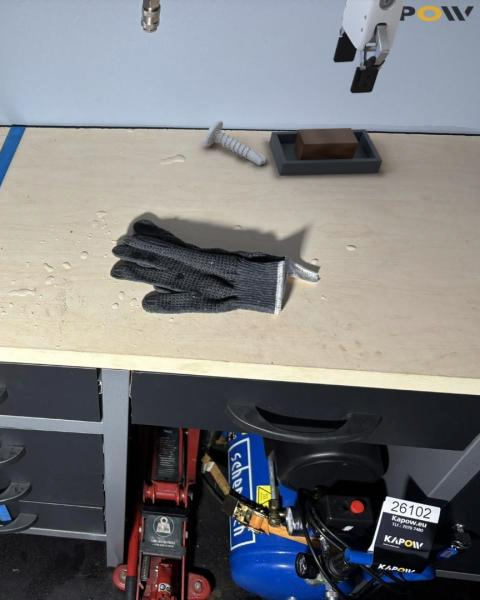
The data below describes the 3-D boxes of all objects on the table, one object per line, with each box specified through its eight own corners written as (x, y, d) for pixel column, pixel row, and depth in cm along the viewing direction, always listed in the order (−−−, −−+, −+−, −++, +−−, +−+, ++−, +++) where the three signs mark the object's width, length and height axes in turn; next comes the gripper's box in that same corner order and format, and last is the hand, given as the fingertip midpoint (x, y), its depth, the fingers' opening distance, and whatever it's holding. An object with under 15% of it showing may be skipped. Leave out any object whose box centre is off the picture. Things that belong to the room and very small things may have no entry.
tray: (361, 141, 110) (365, 129, 108) (377, 173, 103) (382, 160, 101) (269, 143, 110) (271, 131, 109) (279, 175, 104) (282, 163, 102)
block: (344, 147, 108) (351, 127, 105) (351, 162, 105) (358, 142, 102) (293, 148, 108) (298, 129, 105) (299, 163, 105) (304, 144, 102)
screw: (203, 147, 112) (218, 123, 111) (257, 178, 109) (274, 154, 108) (199, 139, 107) (215, 114, 107) (256, 171, 104) (273, 146, 103)
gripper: (437, -19, 76) (394, 103, 89) (392, -65, 88) (359, 49, 101) (376, -16, 77) (342, 106, 90) (340, -62, 89) (314, 51, 101)
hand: (351, 76), depth 95 cm, fingers open, 9 cm apart
